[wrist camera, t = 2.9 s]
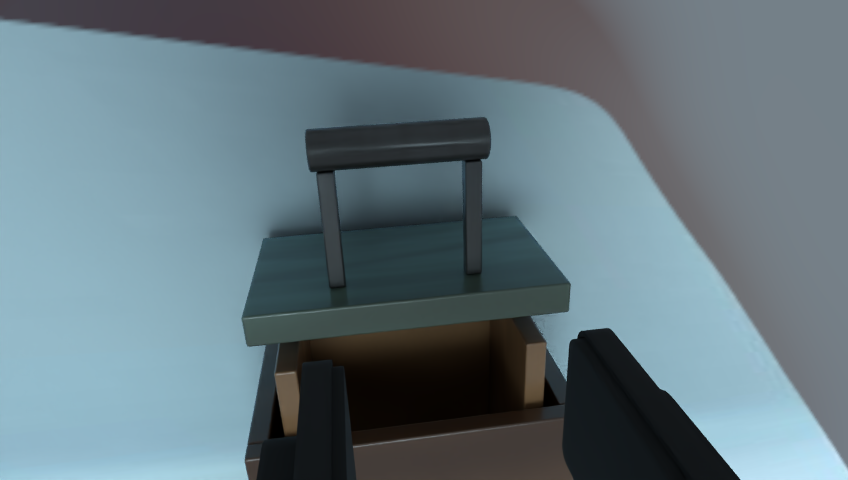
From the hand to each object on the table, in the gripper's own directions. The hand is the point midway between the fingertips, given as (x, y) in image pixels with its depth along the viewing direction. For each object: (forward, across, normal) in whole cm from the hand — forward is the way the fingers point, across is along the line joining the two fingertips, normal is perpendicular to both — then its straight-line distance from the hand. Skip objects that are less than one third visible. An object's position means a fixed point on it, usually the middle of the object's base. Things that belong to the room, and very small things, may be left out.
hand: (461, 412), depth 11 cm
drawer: (+15, 0, +6) cm, 16 cm away
